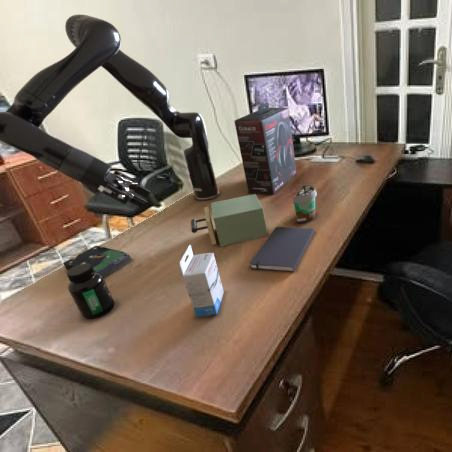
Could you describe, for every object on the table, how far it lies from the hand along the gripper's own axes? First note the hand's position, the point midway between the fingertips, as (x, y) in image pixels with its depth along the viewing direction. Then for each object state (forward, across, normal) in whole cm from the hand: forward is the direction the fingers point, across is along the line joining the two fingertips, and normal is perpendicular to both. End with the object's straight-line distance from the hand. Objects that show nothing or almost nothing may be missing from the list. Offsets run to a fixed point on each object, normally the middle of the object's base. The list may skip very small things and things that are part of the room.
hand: (147, 199), depth 100 cm
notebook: (+36, -17, -12) cm, 41 cm away
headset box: (+42, +39, -18) cm, 60 cm away
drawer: (+24, 0, -2) cm, 24 cm away
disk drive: (0, 0, +24) cm, 24 cm away
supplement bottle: (+2, -24, +22) cm, 32 cm away
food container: (+45, 0, -21) cm, 50 cm away
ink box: (+20, -33, +4) cm, 39 cm away
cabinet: (+28, 0, -5) cm, 29 cm away
